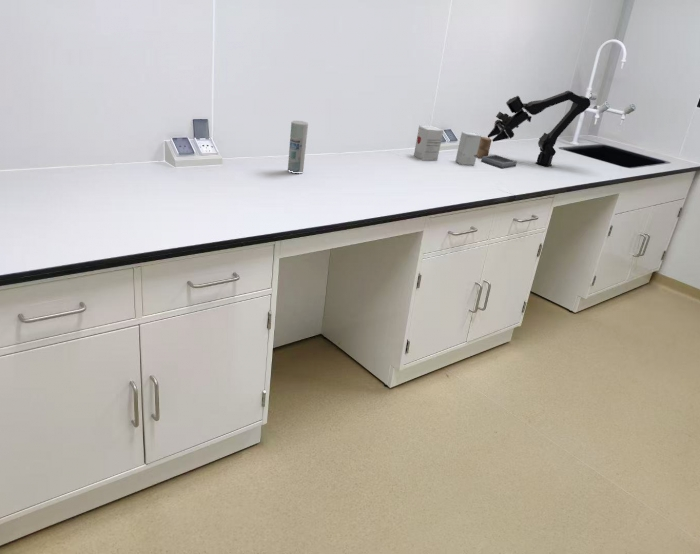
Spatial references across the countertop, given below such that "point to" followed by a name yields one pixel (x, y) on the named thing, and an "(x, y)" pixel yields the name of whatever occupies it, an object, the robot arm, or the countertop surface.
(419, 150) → the supplement box
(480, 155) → the walnut block
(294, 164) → the spray can
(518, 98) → the robot arm
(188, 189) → the countertop surface
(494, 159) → the grey tray
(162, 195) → the countertop surface
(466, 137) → the skincare box
